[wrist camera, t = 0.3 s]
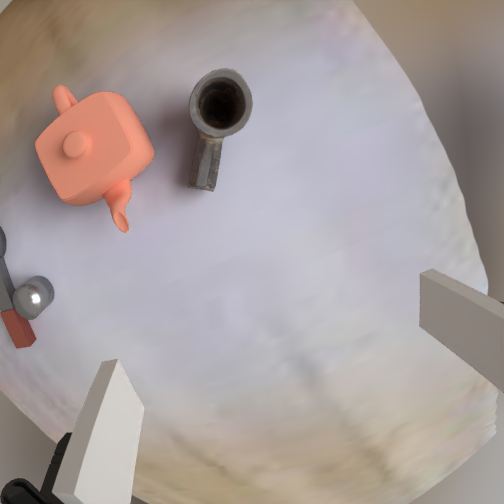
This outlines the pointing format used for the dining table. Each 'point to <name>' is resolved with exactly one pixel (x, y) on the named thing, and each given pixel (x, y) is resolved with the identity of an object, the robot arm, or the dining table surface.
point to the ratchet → (12, 305)
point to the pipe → (216, 120)
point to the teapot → (94, 150)
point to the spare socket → (33, 297)
